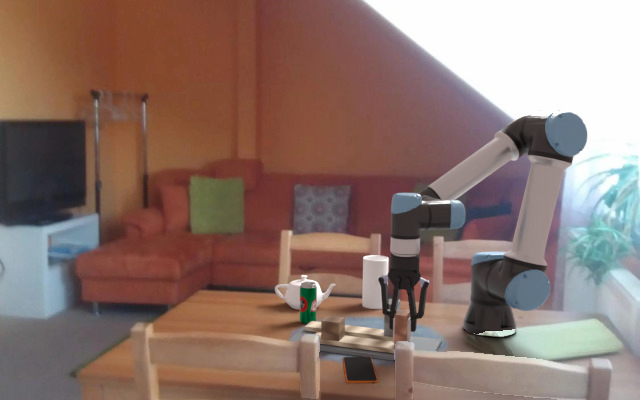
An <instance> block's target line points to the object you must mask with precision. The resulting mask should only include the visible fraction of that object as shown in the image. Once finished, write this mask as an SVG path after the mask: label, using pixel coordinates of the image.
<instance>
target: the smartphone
mask: <svg viewBox="0 0 640 400" xmlns="http://www.w3.org/2000/svg"><path fill="white" fill-rule="evenodd" d="M342 361H343V362H342V363H343V369H344V371H343V372H344V378H345V381H346V383H347V384H373V383H374V384H378V383H379V379H378V375H377V373H376V369H375V366H374V365H375V364H374V361H373V358H371V357H363V356H343V357H342Z"/></svg>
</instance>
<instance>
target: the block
mask: <svg viewBox="0 0 640 400" xmlns="http://www.w3.org/2000/svg"><path fill="white" fill-rule="evenodd" d="M320 322H321V339H325V340H332V341H340V340H341V339H342V338H343V337H344V336H345V325H346V318H345V317H340V316H333V315H332V316H331V315H327V316H325V317H324V318H323V319H322V320H321V321H320Z"/></svg>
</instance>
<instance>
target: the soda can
mask: <svg viewBox="0 0 640 400" xmlns="http://www.w3.org/2000/svg"><path fill="white" fill-rule="evenodd" d="M317 308H318V307H317V286H316V283H315V282H310V281H306V282H302V283H301V286H300V310H299V321H300V323H301V324H304V325H307V324H308V323H310V322H311V321H317Z"/></svg>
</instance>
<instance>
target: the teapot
mask: <svg viewBox="0 0 640 400" xmlns="http://www.w3.org/2000/svg"><path fill="white" fill-rule="evenodd" d="M300 278H301V279H295V280H292V281H290V282H289V283H283V284H282V283H281V284H277V285H276V286H274V292H275V294H276V295H277V296H278V297H279V298H281V299H283V300H285V303H286V304H287V305H288V306H289V307H290V308H291V309H294V310H299V311H300V286H301V283H302V282H306V281H310V282H315V283H316V286H317V308H318V306H319V305H321V304H322V303H323V301H324V300H326V299H327V298H328V297H329V296H330V295H331V292H332V290H333V288H334V287H335V286H336V285H337V284H336V283H331V284H329V286H328V288H327V289H326V291H325V292H322V289H321V286H320V284H319V282H318V281H316V280H314V279H307V278H308V275H306V274H301V275H300ZM279 288H286V291H285V294H282V293H281V292H280V290H279Z"/></svg>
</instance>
